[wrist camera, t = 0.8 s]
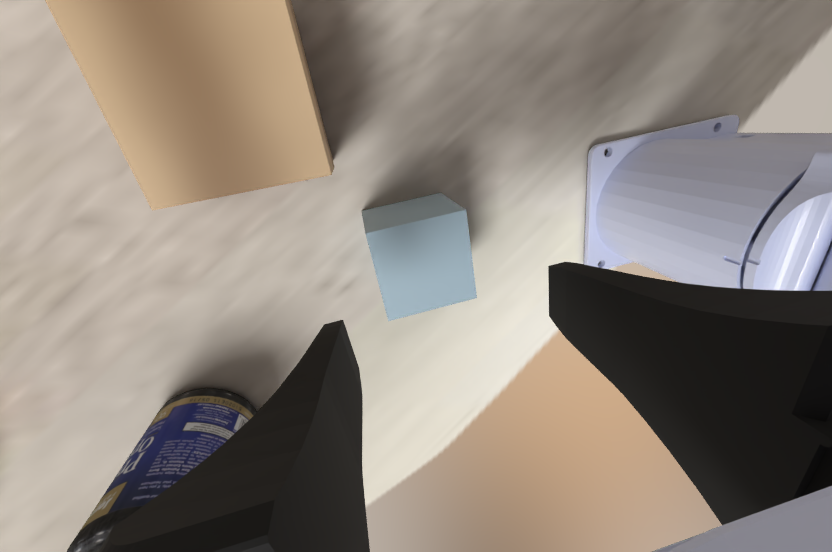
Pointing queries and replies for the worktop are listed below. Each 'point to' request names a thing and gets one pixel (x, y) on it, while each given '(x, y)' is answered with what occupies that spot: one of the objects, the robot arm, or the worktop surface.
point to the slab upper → (200, 92)
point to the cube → (420, 254)
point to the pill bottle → (165, 456)
